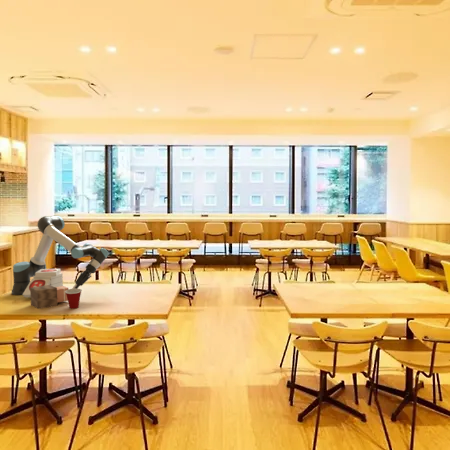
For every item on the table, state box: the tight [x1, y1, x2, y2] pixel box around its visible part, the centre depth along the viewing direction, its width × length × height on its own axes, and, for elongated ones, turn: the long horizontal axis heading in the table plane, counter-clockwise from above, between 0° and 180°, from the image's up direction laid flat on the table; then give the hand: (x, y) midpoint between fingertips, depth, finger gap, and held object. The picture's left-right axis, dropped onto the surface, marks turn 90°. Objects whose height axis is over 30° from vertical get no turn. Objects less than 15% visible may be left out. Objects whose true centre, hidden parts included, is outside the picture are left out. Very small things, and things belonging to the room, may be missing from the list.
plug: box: [56, 285, 69, 304], centre depth 310 cm, size 12×9×9 cm
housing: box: [30, 285, 58, 310], centre depth 304 cm, size 13×14×12 cm
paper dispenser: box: [22, 268, 64, 299], centre depth 332 cm, size 19×30×18 cm, turn 167°
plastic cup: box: [65, 288, 83, 310], centre depth 297 cm, size 11×11×12 cm
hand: (71, 292), depth 317 cm, fingers closed
